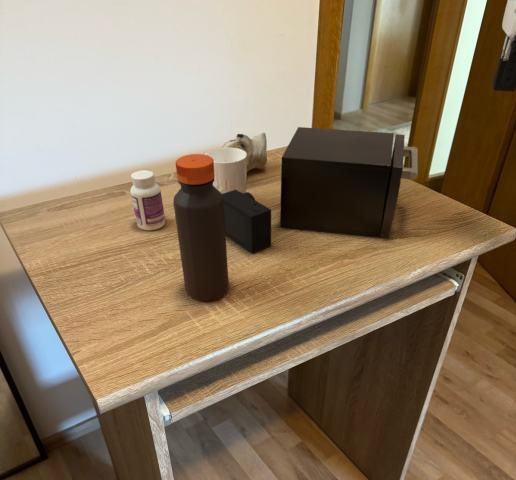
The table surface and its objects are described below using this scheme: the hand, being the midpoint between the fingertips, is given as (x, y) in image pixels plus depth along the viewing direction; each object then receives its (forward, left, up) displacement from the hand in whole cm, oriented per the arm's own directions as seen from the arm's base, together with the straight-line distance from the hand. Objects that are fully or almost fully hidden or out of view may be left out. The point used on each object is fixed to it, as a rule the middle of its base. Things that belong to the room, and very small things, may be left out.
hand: (503, 89), depth 75 cm
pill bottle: (+57, +12, -23) cm, 63 cm away
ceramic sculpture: (+47, -15, -23) cm, 55 cm away
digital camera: (+38, +13, -23) cm, 46 cm away
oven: (+24, 0, -23) cm, 33 cm away
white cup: (+45, +1, -23) cm, 51 cm away
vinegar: (+40, +30, -23) cm, 55 cm away
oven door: (+13, 0, -23) cm, 26 cm away
